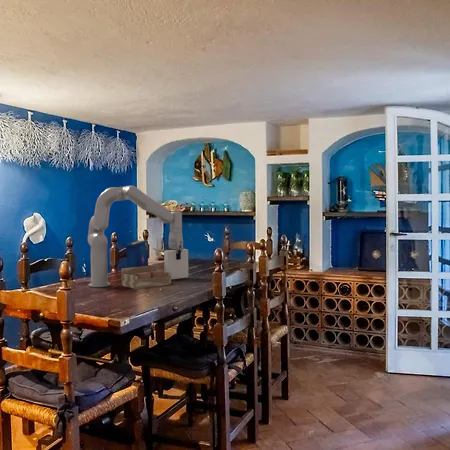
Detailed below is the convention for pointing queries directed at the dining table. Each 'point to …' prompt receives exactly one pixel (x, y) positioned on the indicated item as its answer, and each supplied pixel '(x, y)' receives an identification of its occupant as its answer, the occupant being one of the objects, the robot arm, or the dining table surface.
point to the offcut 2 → (157, 274)
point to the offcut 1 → (143, 275)
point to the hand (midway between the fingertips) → (176, 258)
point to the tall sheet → (176, 263)
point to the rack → (133, 282)
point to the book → (137, 254)
